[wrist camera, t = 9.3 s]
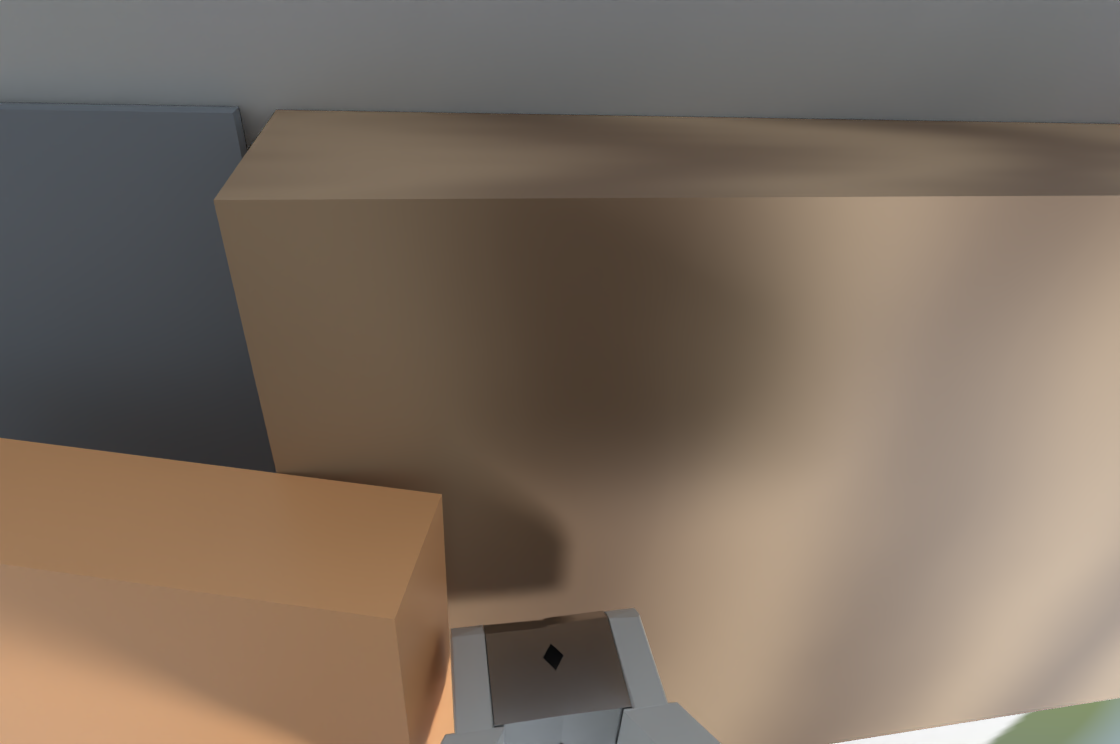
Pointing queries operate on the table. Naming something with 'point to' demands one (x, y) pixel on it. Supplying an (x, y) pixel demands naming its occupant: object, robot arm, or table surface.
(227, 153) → the mat
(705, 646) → the deck
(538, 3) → the table surface
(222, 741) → the block
